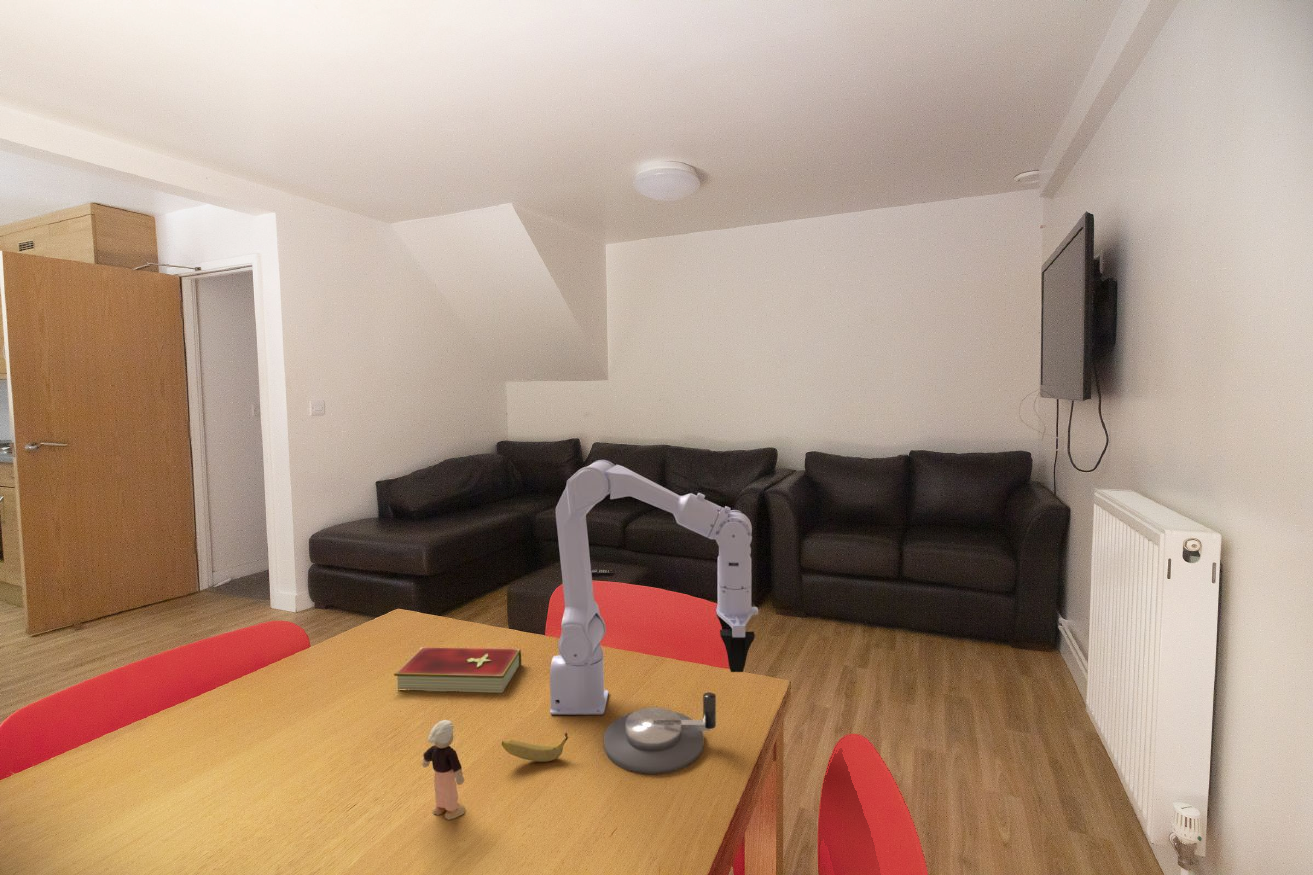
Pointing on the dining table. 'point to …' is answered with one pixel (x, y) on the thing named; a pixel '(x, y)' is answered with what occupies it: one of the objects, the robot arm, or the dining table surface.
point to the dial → (666, 725)
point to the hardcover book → (459, 669)
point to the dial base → (648, 759)
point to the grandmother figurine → (444, 770)
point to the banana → (534, 750)
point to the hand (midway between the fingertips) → (734, 660)
